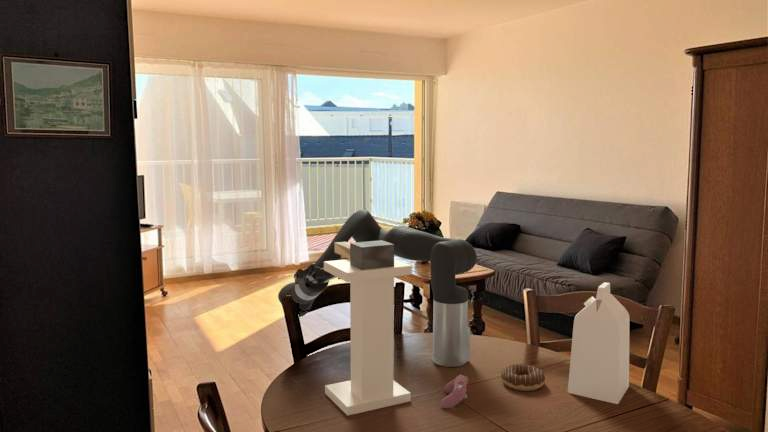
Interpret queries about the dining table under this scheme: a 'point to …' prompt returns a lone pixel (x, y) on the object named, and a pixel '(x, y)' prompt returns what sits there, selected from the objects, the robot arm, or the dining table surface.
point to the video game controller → (455, 391)
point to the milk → (600, 349)
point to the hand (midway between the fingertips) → (330, 265)
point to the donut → (523, 377)
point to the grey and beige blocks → (367, 254)
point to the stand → (369, 339)
